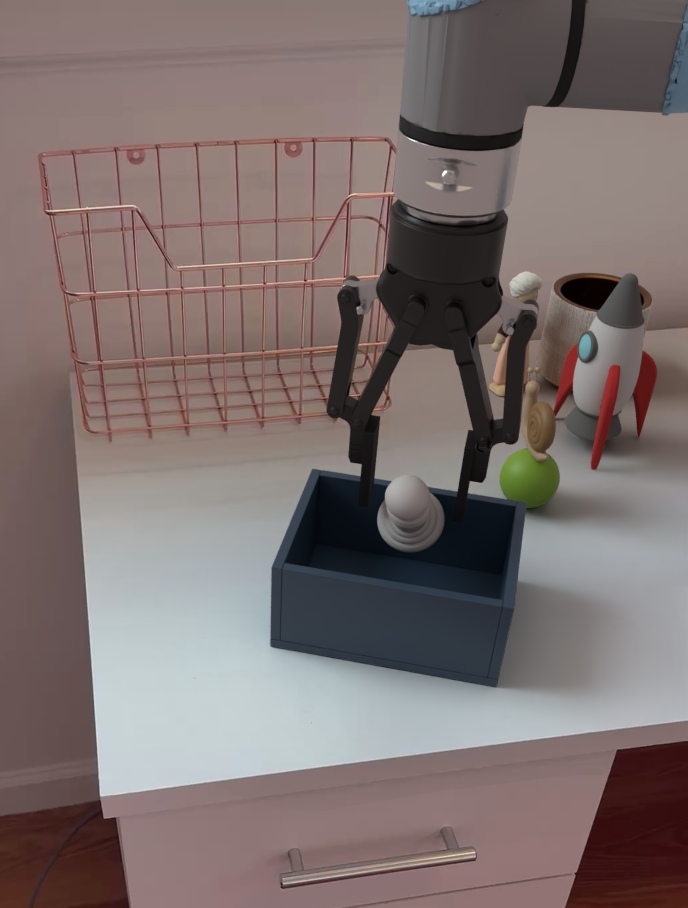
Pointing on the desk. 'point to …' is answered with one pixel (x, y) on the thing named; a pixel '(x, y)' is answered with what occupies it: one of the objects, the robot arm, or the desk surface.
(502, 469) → the snail figurine
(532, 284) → the grandmother figurine
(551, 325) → the planter
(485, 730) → the desk surface
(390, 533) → the chess piece
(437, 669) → the tote
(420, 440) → the desk surface
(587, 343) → the toy
